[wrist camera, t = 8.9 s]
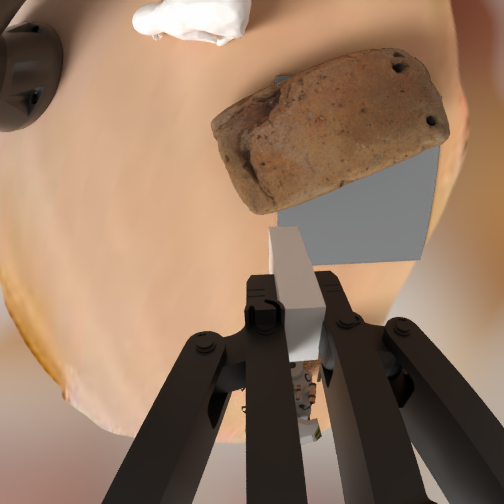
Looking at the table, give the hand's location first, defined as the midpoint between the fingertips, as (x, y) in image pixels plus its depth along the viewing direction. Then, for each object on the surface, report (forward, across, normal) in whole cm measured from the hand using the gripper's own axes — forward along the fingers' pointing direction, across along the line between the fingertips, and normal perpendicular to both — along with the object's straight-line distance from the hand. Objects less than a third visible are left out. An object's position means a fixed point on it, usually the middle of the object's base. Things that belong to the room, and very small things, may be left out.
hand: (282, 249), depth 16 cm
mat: (+17, +11, 0) cm, 21 cm away
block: (+14, -3, +2) cm, 14 cm away
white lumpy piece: (+18, -7, +18) cm, 26 cm away
